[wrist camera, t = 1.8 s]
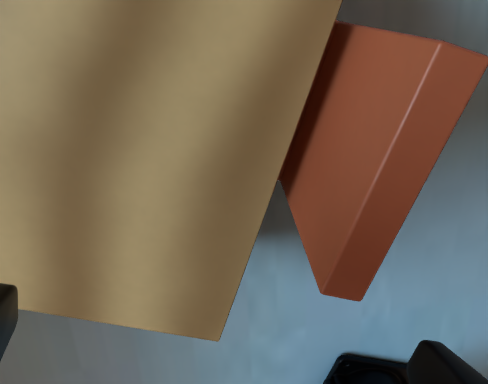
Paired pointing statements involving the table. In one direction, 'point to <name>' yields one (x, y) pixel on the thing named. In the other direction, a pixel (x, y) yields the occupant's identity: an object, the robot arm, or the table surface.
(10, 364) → the table surface
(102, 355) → the table surface
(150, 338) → the table surface
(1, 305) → the robot arm
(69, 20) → the toy desk
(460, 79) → the toy chair
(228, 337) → the table surface
